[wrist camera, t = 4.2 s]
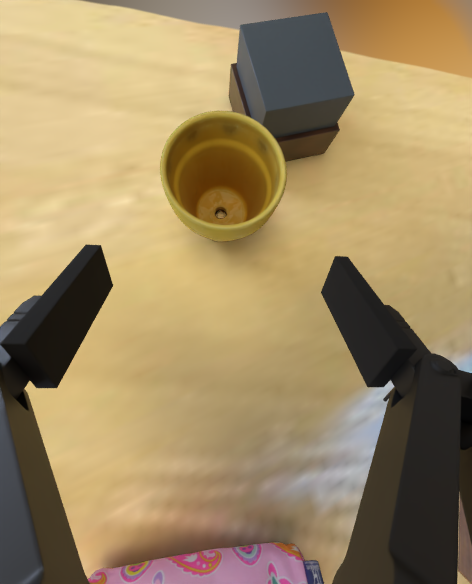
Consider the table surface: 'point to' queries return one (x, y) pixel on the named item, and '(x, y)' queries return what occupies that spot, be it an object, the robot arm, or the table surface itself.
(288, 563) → the pencil case
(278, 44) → the top block
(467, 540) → the tissue box cover
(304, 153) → the base block
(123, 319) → the table surface
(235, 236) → the flower pot
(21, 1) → the table surface
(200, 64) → the table surface
